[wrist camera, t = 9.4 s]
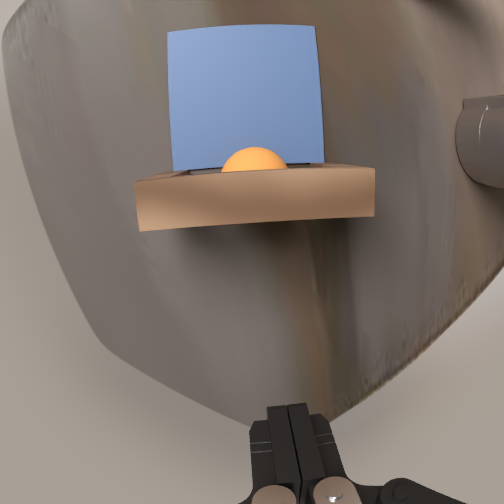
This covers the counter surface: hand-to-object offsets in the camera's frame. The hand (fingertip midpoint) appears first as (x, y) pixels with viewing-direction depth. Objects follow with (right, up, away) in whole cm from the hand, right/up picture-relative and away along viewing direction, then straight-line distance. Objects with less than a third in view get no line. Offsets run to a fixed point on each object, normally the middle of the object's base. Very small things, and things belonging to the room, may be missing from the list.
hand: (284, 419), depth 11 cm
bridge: (-1, +12, +16) cm, 20 cm away
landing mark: (-2, +20, +13) cm, 24 cm away
